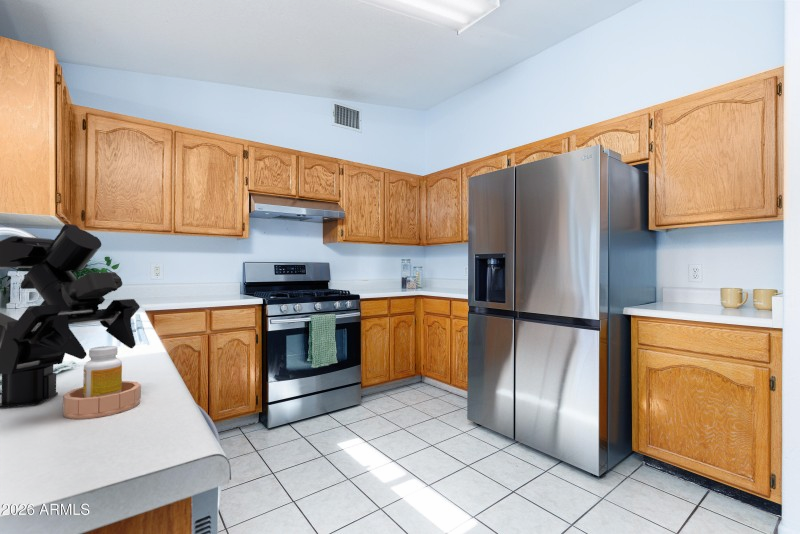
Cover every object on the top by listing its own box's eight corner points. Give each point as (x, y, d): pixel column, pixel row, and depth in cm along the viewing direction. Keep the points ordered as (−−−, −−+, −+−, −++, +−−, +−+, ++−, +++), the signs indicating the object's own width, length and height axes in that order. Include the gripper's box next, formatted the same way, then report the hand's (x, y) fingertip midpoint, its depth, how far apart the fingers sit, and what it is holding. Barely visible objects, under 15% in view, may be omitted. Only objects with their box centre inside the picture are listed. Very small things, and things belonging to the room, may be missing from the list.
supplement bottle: (129, 399, 70) (129, 345, 70) (101, 409, 65) (101, 351, 65) (104, 397, 71) (105, 344, 71) (74, 407, 66) (75, 350, 66)
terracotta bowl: (49, 422, 61) (49, 402, 61) (82, 401, 72) (83, 384, 72) (126, 414, 64) (126, 395, 64) (148, 395, 75) (148, 379, 75)
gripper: (26, 254, 60) (83, 326, 58) (132, 259, 78) (178, 314, 76) (-13, 305, 62) (41, 377, 59) (100, 297, 80) (145, 352, 77)
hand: (110, 351), depth 68 cm, fingers open, 9 cm apart
